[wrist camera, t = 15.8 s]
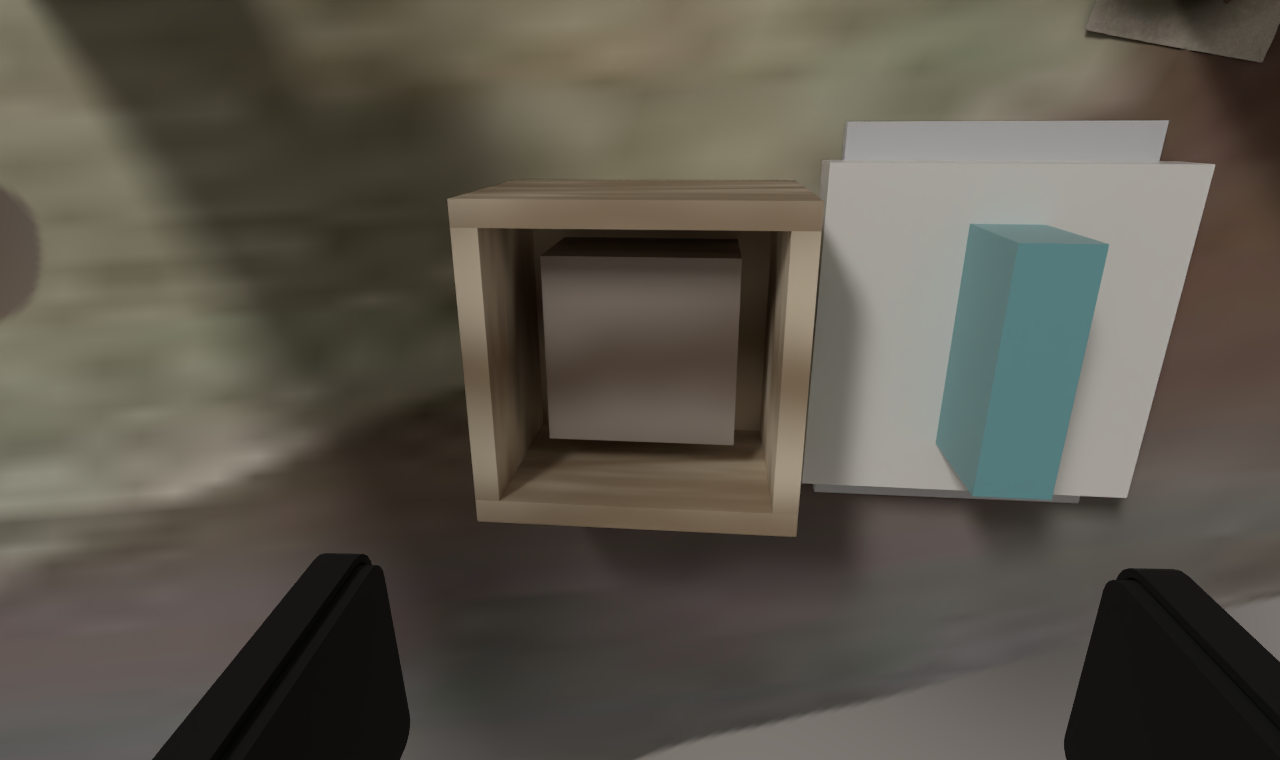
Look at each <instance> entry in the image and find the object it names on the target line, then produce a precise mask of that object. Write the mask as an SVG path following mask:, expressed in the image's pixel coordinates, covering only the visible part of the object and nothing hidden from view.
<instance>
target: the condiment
mask: <svg viewBox="0 0 1280 760" xmlns="http://www.w3.org/2000/svg"><path fill="white" fill-rule="evenodd" d="M1223 1H1224V0H1096V2H1095V5H1094V7H1093V9H1092V12H1091V15H1090V17H1089V20H1088V23H1087V26H1086V28H1085V30H1089V31H1094V32H1099V33H1105V34H1108V35H1113V36H1118V37H1123V38H1129V39H1134V40H1140V41H1144V42H1149V43H1155V44H1160V45H1166V46H1171V47H1177V48H1182V49H1186V50H1193V51H1200V52H1206V53H1211V54H1216V55H1221V56H1226V57H1233V58H1239V59H1244V60H1250V61H1255V62H1261V63H1262V62H1263V60H1264V58H1265V55H1266V53H1267V51H1268V49H1269V47H1270V45H1271V43H1272V41H1273V39H1274V37H1275V34H1276V31H1277V28H1278V26H1279V24H1280V0H1231V1H1229V2H1228V3H1224V2H1223Z"/></svg>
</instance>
